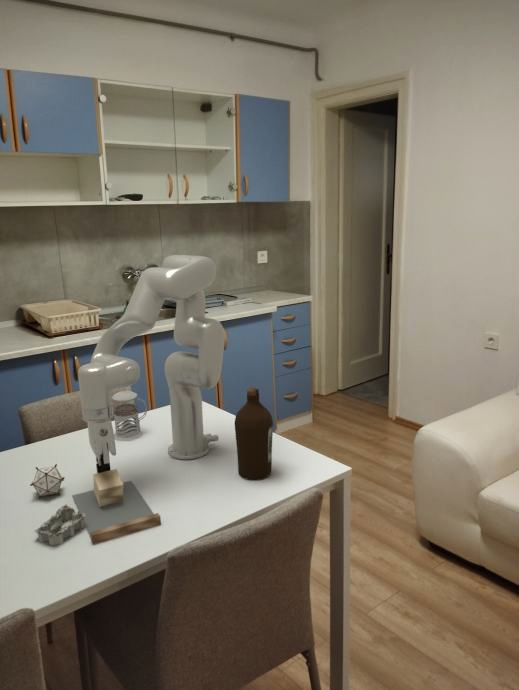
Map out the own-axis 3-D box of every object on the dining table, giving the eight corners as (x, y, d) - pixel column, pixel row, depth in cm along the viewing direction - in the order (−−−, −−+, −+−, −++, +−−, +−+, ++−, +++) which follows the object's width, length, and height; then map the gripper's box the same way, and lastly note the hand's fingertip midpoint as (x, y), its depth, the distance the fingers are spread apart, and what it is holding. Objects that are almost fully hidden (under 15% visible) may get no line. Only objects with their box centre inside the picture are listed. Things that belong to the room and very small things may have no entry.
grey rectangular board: (131, 481, 155) (131, 480, 155) (158, 522, 135) (158, 521, 135) (71, 496, 148) (71, 495, 148) (91, 541, 128) (91, 540, 128)
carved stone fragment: (69, 517, 138) (67, 502, 137) (91, 524, 134) (89, 509, 133) (33, 540, 129) (30, 524, 128) (55, 549, 125) (52, 533, 124)
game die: (54, 510, 149) (50, 494, 141) (25, 497, 149) (20, 480, 142) (73, 481, 154) (70, 464, 147) (45, 469, 155) (41, 452, 148)
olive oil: (236, 482, 154) (233, 396, 147) (236, 464, 164) (233, 383, 158) (274, 480, 154) (273, 394, 148) (272, 463, 164) (271, 382, 158)
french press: (112, 431, 190) (105, 360, 183) (146, 426, 193) (141, 357, 187) (113, 443, 180) (106, 368, 174) (150, 437, 184) (144, 364, 178)
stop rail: (158, 522, 135) (158, 512, 135) (161, 525, 134) (160, 516, 133) (91, 541, 128) (90, 532, 127) (93, 545, 127) (92, 535, 126)
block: (116, 485, 149) (116, 468, 146) (123, 501, 144) (123, 484, 141) (93, 491, 146) (93, 474, 143) (99, 507, 142) (99, 490, 139)
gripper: (120, 418, 138) (126, 485, 142) (105, 400, 150) (111, 462, 155) (88, 424, 134) (96, 493, 139) (76, 405, 147) (84, 469, 152)
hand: (104, 477), depth 147 cm, fingers closed
